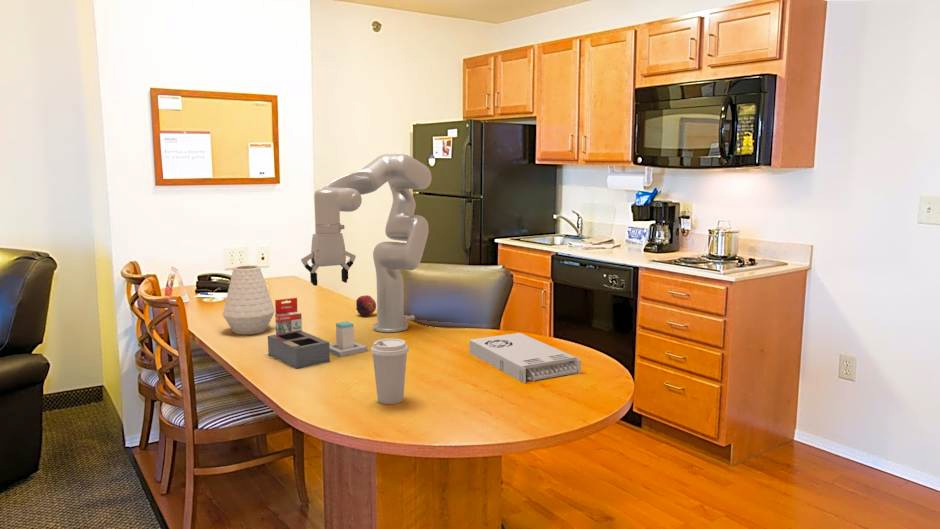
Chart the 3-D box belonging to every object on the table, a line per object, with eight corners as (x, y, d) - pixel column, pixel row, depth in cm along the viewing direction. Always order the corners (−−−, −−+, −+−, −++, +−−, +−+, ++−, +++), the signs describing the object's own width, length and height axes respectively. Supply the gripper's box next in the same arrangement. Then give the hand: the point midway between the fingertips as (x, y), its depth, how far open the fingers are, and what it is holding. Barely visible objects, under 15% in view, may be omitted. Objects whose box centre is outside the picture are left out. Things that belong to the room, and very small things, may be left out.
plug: (347, 348, 215) (346, 321, 213) (354, 350, 212) (353, 323, 210) (336, 350, 212) (335, 323, 211) (343, 353, 209) (342, 325, 208)
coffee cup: (372, 393, 173) (371, 338, 170) (409, 392, 174) (408, 337, 171) (370, 407, 163) (369, 348, 161) (409, 406, 164) (408, 347, 162)
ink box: (302, 341, 222) (301, 299, 220) (279, 345, 218) (277, 301, 216) (299, 339, 225) (297, 297, 223) (276, 342, 221) (274, 299, 219)
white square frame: (350, 344, 219) (350, 340, 219) (367, 351, 211) (367, 346, 211) (323, 350, 212) (323, 345, 212) (339, 357, 205) (339, 352, 205)
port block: (300, 348, 215) (300, 329, 214) (329, 361, 200) (329, 341, 200) (268, 354, 208) (267, 335, 207) (296, 368, 193) (295, 347, 192)
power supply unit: (524, 386, 181) (524, 368, 180) (469, 354, 210) (469, 339, 209) (580, 376, 190) (581, 359, 189) (519, 347, 218) (520, 332, 218)
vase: (213, 334, 231) (209, 269, 228) (247, 323, 247) (243, 262, 244) (253, 339, 225) (249, 272, 221) (285, 327, 241) (282, 265, 237)
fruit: (380, 315, 261) (379, 295, 259) (366, 319, 254) (366, 298, 253) (365, 312, 265) (364, 293, 264) (351, 316, 258) (351, 296, 257)
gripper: (350, 226, 213) (351, 279, 216) (296, 229, 204) (299, 284, 207) (358, 229, 207) (360, 282, 209) (303, 232, 198) (306, 288, 201)
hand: (329, 283), depth 208 cm, fingers open, 9 cm apart
